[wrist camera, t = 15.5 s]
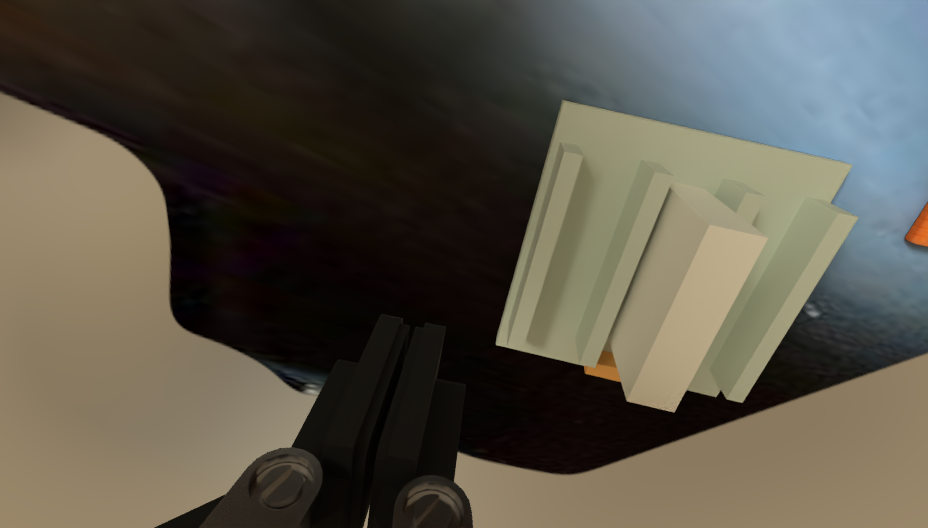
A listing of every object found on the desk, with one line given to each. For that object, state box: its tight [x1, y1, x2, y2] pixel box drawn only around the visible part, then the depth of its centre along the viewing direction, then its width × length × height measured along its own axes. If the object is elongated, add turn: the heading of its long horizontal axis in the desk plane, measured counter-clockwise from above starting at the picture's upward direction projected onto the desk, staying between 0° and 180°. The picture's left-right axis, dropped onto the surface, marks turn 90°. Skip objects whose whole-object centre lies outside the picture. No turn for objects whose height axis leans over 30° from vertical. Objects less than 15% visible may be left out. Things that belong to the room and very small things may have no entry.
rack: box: [496, 100, 859, 403], centre depth 33 cm, size 20×19×5 cm
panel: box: [608, 182, 768, 412], centre depth 29 cm, size 12×3×9 cm, turn 169°
